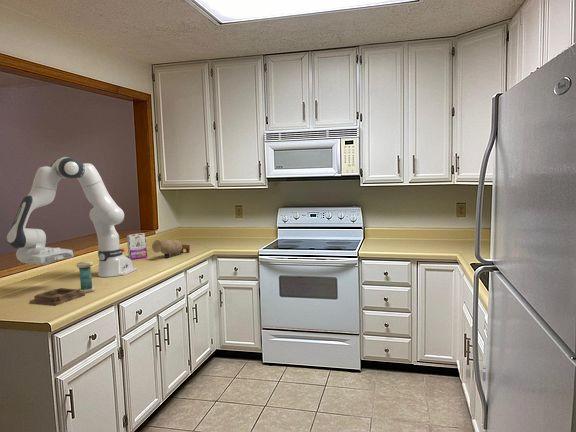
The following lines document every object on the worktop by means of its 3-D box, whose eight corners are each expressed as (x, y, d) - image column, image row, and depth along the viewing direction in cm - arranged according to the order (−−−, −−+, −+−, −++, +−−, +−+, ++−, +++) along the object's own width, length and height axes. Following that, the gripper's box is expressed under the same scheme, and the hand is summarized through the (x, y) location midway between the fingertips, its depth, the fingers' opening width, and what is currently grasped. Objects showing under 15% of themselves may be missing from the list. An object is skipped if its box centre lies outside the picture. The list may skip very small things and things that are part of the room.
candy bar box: (145, 256, 306) (143, 232, 304) (147, 257, 302) (145, 233, 300) (128, 259, 299) (126, 234, 298) (130, 260, 295) (128, 235, 294)
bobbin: (87, 289, 222) (84, 261, 221) (98, 290, 220) (95, 261, 218) (75, 293, 216) (73, 264, 215) (86, 293, 213) (84, 264, 212)
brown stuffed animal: (178, 257, 317) (150, 257, 290) (179, 240, 318) (151, 238, 291) (190, 258, 313) (162, 258, 286) (191, 240, 314) (163, 238, 287)
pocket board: (59, 293, 217) (59, 287, 216) (84, 295, 210) (84, 289, 210) (29, 302, 202) (29, 296, 202) (55, 305, 196) (55, 298, 195)
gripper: (24, 253, 216) (45, 254, 211) (60, 246, 235) (80, 247, 230) (25, 266, 216) (46, 267, 211) (61, 258, 235) (81, 259, 230)
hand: (64, 257), depth 221 cm, fingers open, 8 cm apart
